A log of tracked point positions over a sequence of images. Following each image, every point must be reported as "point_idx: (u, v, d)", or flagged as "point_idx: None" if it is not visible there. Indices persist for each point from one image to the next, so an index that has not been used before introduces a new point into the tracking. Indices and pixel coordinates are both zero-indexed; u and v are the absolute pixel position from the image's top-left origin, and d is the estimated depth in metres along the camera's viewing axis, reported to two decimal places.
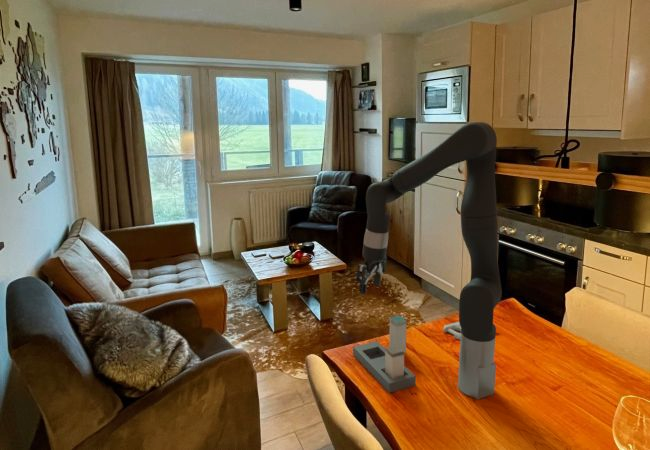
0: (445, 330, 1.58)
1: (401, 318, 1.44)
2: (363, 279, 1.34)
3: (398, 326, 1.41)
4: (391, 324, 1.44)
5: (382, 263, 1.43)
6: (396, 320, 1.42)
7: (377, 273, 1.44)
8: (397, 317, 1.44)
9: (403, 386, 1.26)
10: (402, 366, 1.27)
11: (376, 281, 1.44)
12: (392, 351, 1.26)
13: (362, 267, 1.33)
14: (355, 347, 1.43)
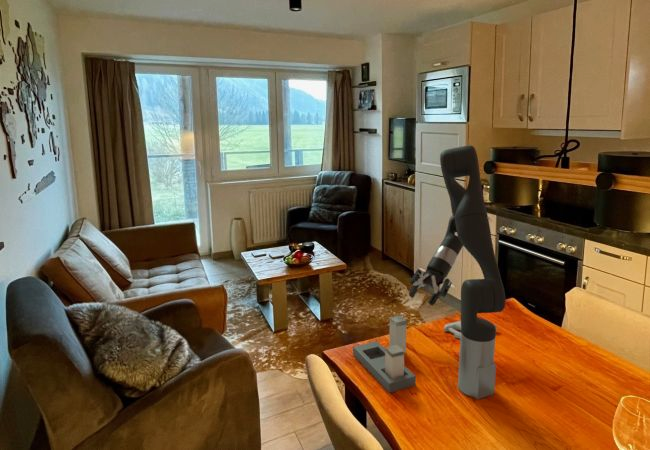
0: (446, 329, 1.59)
1: (401, 318, 1.44)
2: (412, 278, 1.55)
3: (398, 326, 1.41)
4: (391, 324, 1.44)
5: None
6: (396, 320, 1.42)
7: None
8: (397, 317, 1.44)
9: (403, 386, 1.26)
10: (402, 366, 1.27)
11: None
12: (392, 351, 1.26)
13: None
14: (355, 347, 1.43)
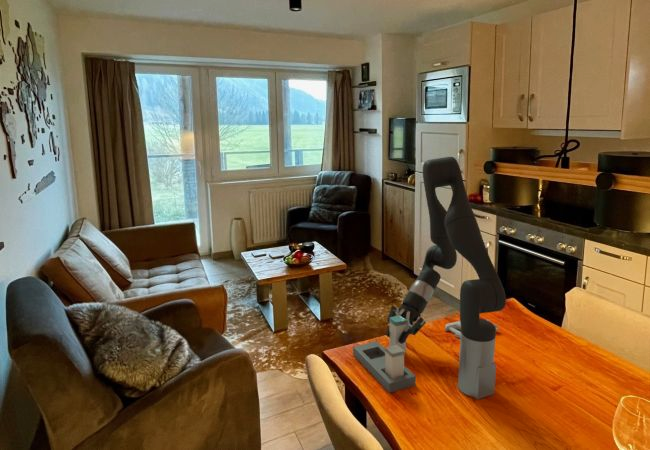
0: (447, 329, 1.59)
1: (400, 318, 1.44)
2: (389, 317, 1.49)
3: (398, 326, 1.42)
4: (391, 324, 1.44)
5: None
6: (396, 320, 1.42)
7: None
8: (397, 317, 1.44)
9: (403, 386, 1.26)
10: (402, 366, 1.27)
11: None
12: (392, 351, 1.26)
13: None
14: (355, 347, 1.43)
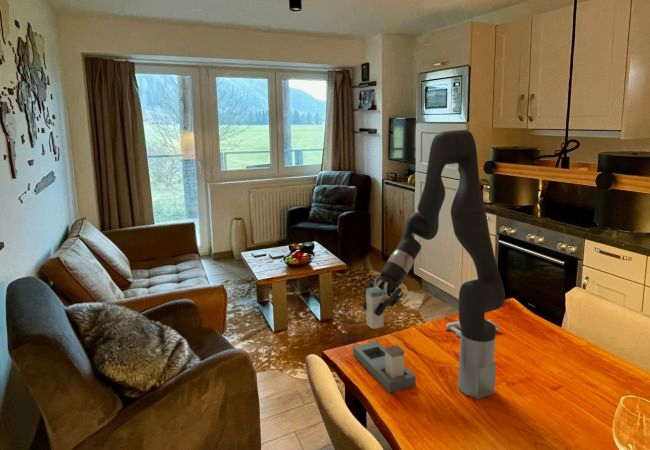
0: (448, 328, 1.60)
1: (378, 289, 1.35)
2: None
3: (375, 297, 1.33)
4: (367, 295, 1.35)
5: None
6: (372, 291, 1.34)
7: None
8: (374, 288, 1.36)
9: (403, 386, 1.26)
10: (402, 366, 1.27)
11: None
12: (392, 351, 1.26)
13: None
14: (355, 347, 1.43)
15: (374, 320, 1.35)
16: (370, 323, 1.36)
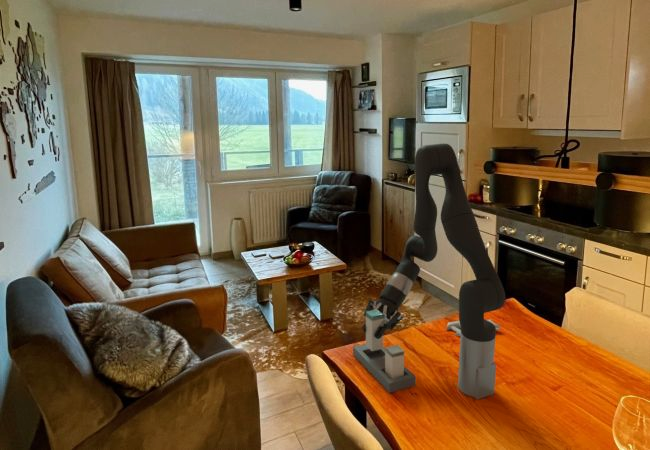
0: (448, 327, 1.60)
1: (377, 312, 1.37)
2: None
3: (374, 320, 1.35)
4: (367, 318, 1.37)
5: None
6: (372, 314, 1.36)
7: None
8: (374, 311, 1.38)
9: (403, 386, 1.26)
10: (402, 366, 1.27)
11: None
12: (392, 351, 1.26)
13: None
14: (355, 347, 1.43)
15: (373, 342, 1.37)
16: (369, 345, 1.38)
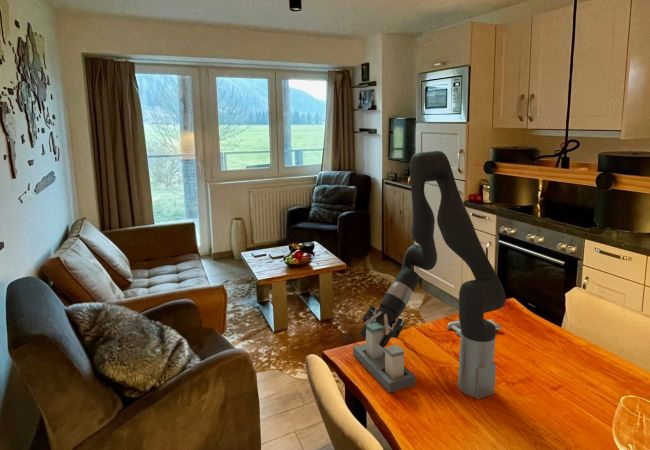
0: (449, 327, 1.60)
1: (377, 325, 1.38)
2: (365, 316, 1.44)
3: (375, 333, 1.36)
4: (367, 331, 1.38)
5: None
6: (373, 327, 1.37)
7: None
8: (374, 324, 1.39)
9: (403, 386, 1.26)
10: (402, 366, 1.27)
11: None
12: (392, 351, 1.26)
13: None
14: (355, 347, 1.43)
15: (374, 355, 1.38)
16: (370, 358, 1.39)
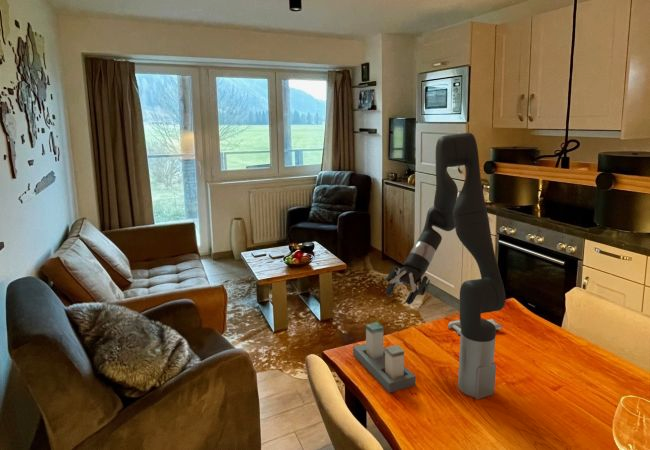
0: (450, 326, 1.61)
1: (377, 325, 1.38)
2: (389, 276, 1.47)
3: (375, 333, 1.36)
4: (367, 331, 1.38)
5: None
6: (373, 327, 1.37)
7: None
8: (374, 324, 1.39)
9: (403, 386, 1.26)
10: (402, 366, 1.27)
11: None
12: (392, 351, 1.26)
13: None
14: (355, 347, 1.43)
15: (374, 355, 1.38)
16: (370, 358, 1.39)
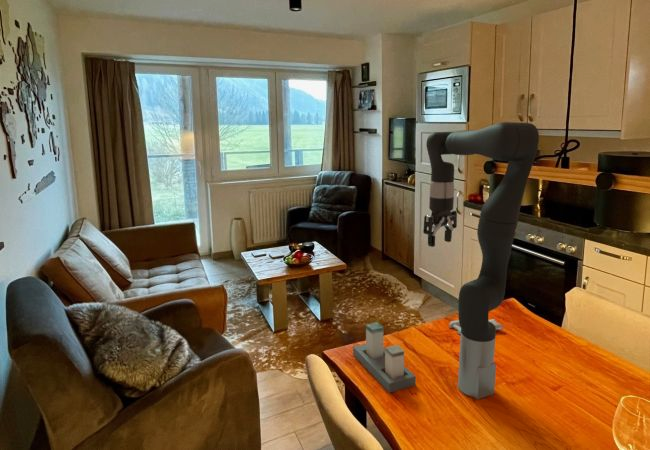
0: (451, 326, 1.61)
1: (377, 325, 1.38)
2: (430, 229, 1.36)
3: (375, 333, 1.36)
4: (367, 331, 1.38)
5: (452, 218, 1.44)
6: (373, 327, 1.37)
7: (447, 228, 1.44)
8: (374, 324, 1.39)
9: (403, 386, 1.26)
10: (402, 366, 1.27)
11: (447, 237, 1.44)
12: (392, 351, 1.26)
13: (428, 217, 1.36)
14: (355, 347, 1.43)
15: (374, 355, 1.38)
16: (370, 358, 1.39)
